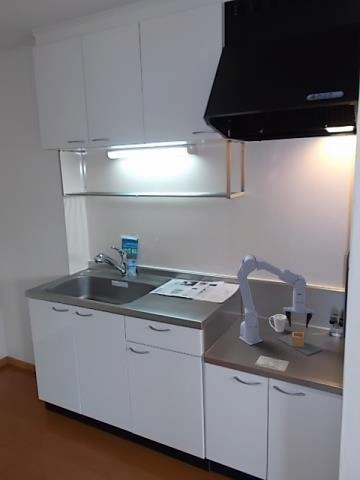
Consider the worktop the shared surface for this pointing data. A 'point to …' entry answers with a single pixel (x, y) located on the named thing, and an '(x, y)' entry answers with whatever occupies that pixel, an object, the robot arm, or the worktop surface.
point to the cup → (279, 322)
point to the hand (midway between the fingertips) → (298, 326)
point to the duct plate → (306, 350)
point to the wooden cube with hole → (298, 339)
